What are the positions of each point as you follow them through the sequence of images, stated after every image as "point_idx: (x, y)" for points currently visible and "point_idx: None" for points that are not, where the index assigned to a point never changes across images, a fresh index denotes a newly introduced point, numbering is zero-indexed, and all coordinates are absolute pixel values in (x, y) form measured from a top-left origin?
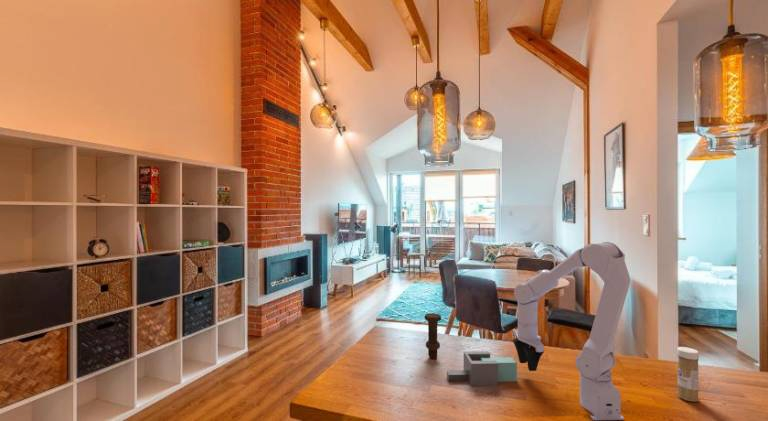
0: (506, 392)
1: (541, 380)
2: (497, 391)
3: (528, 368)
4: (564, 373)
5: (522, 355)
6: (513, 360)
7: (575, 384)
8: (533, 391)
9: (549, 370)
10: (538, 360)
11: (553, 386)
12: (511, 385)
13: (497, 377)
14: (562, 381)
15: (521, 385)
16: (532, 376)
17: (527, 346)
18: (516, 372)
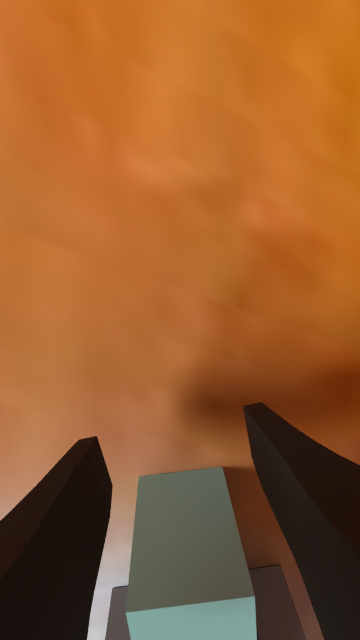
0: None
1: (201, 312)
2: None
3: (258, 470)
4: (43, 51)
5: (89, 534)
6: (208, 613)
7: (257, 48)
8: (350, 408)
9: (5, 179)
10: (332, 458)
11: (290, 258)
12: None
13: (299, 620)
14: (208, 148)
15: None
16: (143, 355)
17: (20, 603)
18: (234, 516)
